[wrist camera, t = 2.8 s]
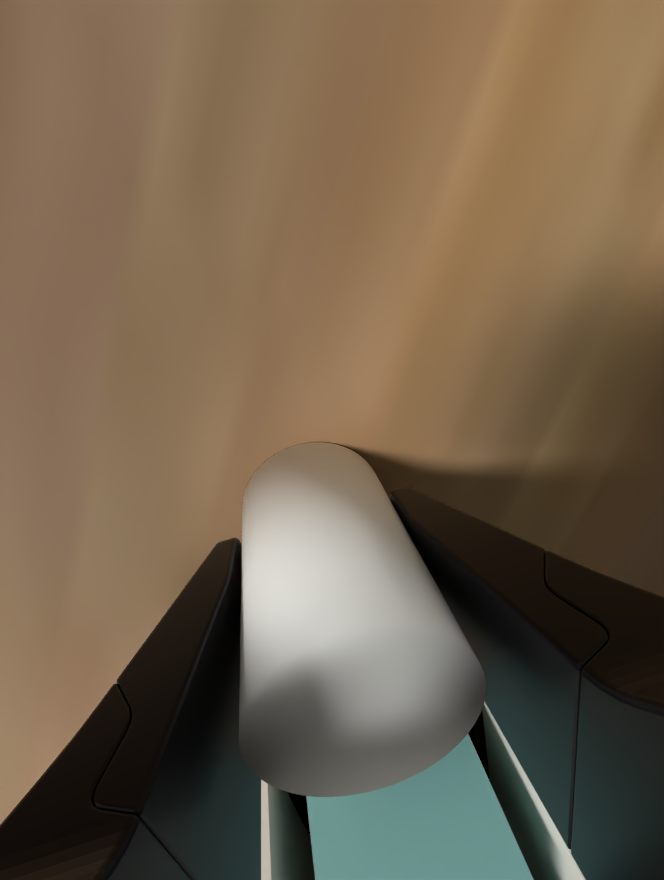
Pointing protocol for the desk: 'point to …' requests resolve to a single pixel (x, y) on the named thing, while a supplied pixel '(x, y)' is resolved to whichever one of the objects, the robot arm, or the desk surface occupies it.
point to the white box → (532, 827)
